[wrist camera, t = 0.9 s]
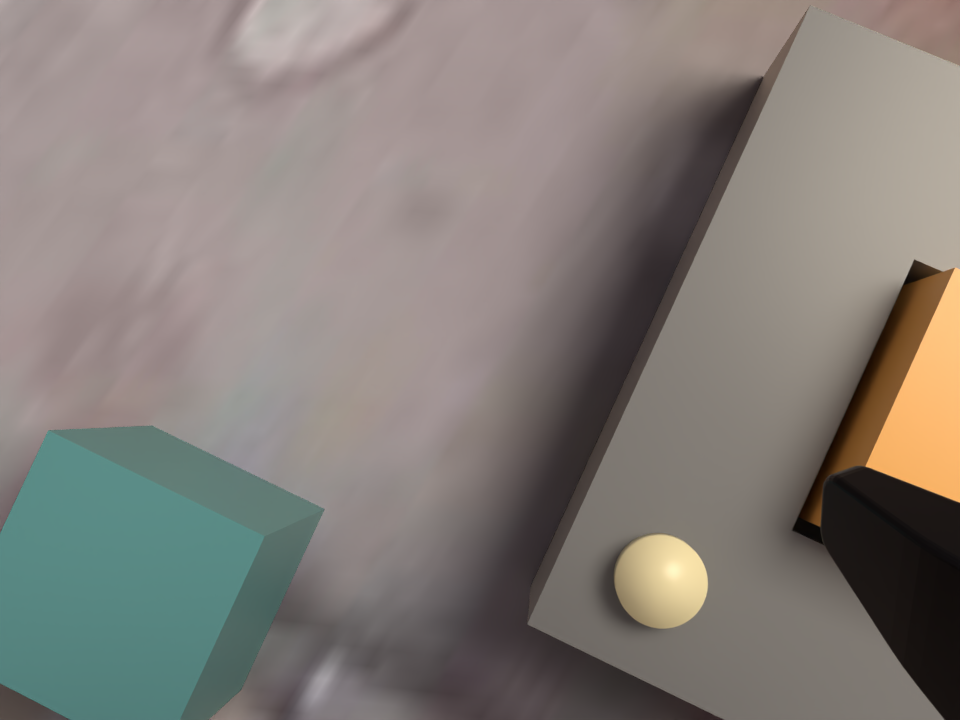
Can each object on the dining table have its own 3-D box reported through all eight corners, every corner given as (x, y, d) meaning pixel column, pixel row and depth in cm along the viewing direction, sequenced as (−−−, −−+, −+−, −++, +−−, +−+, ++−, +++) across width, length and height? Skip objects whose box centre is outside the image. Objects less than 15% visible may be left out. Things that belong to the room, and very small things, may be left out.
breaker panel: (1316, 305, 22) (1516, 277, 17) (1075, 848, 21) (1215, 964, 17) (764, 75, 23) (817, -7, 18) (530, 586, 23) (526, 630, 18)
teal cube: (325, 508, 23) (264, 536, 18) (241, 688, 23) (158, 765, 18) (153, 425, 24) (48, 430, 19) (70, 602, 24) (-57, 653, 19)
